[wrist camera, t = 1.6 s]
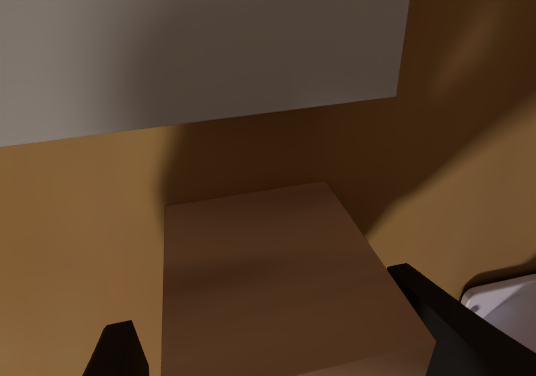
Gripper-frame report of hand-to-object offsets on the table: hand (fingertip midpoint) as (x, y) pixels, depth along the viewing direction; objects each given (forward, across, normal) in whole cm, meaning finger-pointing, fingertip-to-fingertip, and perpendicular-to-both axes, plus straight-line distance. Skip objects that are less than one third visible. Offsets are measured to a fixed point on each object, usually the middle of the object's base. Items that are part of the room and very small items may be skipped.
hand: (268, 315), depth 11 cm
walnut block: (+3, 0, 0) cm, 3 cm away
